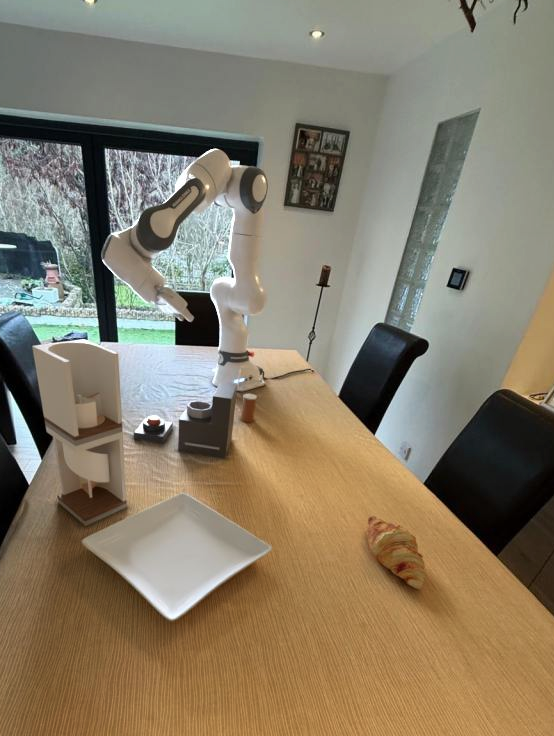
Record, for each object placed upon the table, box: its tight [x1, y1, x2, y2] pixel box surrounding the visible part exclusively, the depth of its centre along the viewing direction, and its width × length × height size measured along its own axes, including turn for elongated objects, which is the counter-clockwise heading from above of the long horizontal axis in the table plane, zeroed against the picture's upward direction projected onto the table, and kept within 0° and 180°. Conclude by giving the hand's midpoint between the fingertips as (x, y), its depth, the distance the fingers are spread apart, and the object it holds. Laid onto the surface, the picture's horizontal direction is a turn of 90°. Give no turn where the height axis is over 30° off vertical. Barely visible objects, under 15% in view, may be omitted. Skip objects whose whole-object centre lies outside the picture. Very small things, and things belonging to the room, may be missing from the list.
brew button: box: [147, 414, 161, 425], centre depth 126 cm, size 4×4×2 cm
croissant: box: [366, 515, 426, 590], centre depth 88 cm, size 21×10×8 cm, turn 11°
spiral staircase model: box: [31, 338, 128, 527], centre depth 86 cm, size 11×11×35 cm
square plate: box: [81, 492, 273, 622], centre depth 82 cm, size 27×27×4 cm
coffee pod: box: [240, 393, 258, 423], centre depth 141 cm, size 5×5×8 cm
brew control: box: [133, 417, 174, 444], centre depth 127 cm, size 11×9×4 cm
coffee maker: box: [177, 382, 238, 459], centre depth 120 cm, size 12×14×18 cm
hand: (187, 319), depth 129 cm, fingers open, 8 cm apart
